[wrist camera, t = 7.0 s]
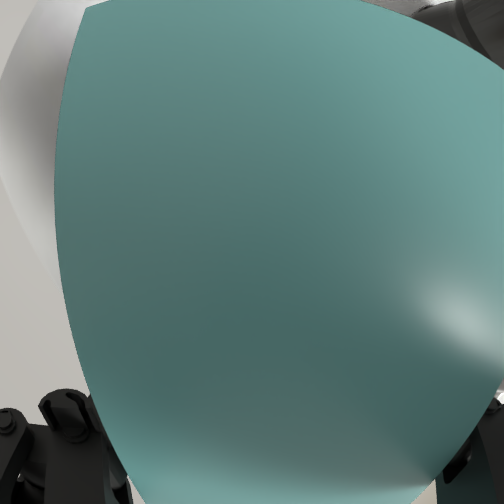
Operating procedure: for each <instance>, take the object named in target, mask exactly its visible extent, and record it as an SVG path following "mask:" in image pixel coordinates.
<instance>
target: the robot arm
mask: <svg viewBox="0 0 504 504" xmlns="http://www.w3.org/2000/svg"><path fill="white" fill-rule="evenodd" d="M410 18H412V19H415V20H417V21H419V22H422V23H424V24H426V25H428V26H430V27H433V28H435V29H437V30H439V31H441V32H443V33H445V34H447V35H449V36H451V37H452V38H454V39H456V40H458V41H460V42H461V43H463V44H465V45H467V46H468V47H470V48H472V49H473V50H475V51H477V52H478V53H480V54H481V55H483V56H484V57H486V58H487V59H489V60H490V61H492V62H493V63H495V64H496V65H498V66H499V67H500V68H502V69H503V70H504V0H454V1H449V2H444V3H440V4H438V5H436V6H433V5H431V6H425V7H422V8H420V9H418V10H417V11H416V12H414V13H413V14H412V15H411V16H410ZM38 407H39V409H40V411H41V413H42V415H43V417H44V419H45V420H46V422H47V424H48V426H46V425H37V424H29V423H28V422H27V420H26V418H25V417H24V415H23V414H22V413H21V412H20V411H18V410H16V409H13V408H4V409H0V504H133V499H132V493H131V487H130V484H129V481H128V479H127V475H128V474H127V472H126V470H125V469H124V467H123V465H122V463H121V461H120V459H119V457H118V456H117V454H116V452H115V450H114V448H113V446H112V443H111V441H110V439H109V437H108V435H107V433H106V431H105V428H104V426H103V424H102V422H101V419H100V417H99V414H98V412H97V409H96V407H95V404H94V402H93V399H92V397H91V394H90V395H89V396H88V398H87V397H86V395H85V394H83V393H81V392H80V391H78V390H74V389H58V390H55V391H53V392H50V393H48V394H47V395H46V396H45V397H43V398H42V399H41V401H40V403H39V405H38ZM19 474H20V476H19ZM18 476H19V478H18ZM17 478H18V479H17ZM435 481H436V493H437V504H504V404H501V403H500V401H499V400H497V399H496V398H495V397H493V399H492V401H491V402H490V404H489V406H488V407H487V409H486V411H485V412H484V414H483V416H482V417H481V419H480V420H479V422H478V423H477V425H476V426H475V428H474V429H473V431H472V432H471V434H470V435H469V437H468V438H467V439H466V441H465V442H464V444H463V445H462V446H461V448H460V449H459V450H458V452H457V453H456V454H455V455H454V457H453V458H452V459H451V460H450V462H449V463H448V464H447V465H446V467H445V468H444V469H443V470H442V471H441V472H440V474H439V475H438V476H437V477H436V478H435Z"/></svg>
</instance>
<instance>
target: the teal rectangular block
mask: <svg viewBox="0 0 504 504" xmlns="http://www.w3.org/2000/svg"><path fill="white" fill-rule="evenodd" d="M54 202H55V226H56V240H57V251H58V260H59V268H60V275H61V281H62V288H63V293H64V299H65V304H66V309H67V314H68V318H69V323H70V327H71V331H72V336H73V339H74V343H75V347H76V350H77V354H78V358H79V361H80V364H81V367H82V371H83V374H84V377H85V380H86V383H87V386H88V388H89V391H90V394H91V397H92V399H93V402H94V404H95V407H96V409H97V412H98V414H99V417H100V419H101V422H102V424H103V426H104V428H105V431H106V433H107V435H108V437H109V439H110V441H111V443H112V446H113V448H114V450H115V452H116V454H117V456H118V457H119V459H120V461H121V463H122V465H123V467H124V469H125V470H126V472H127V474H128V476H129V478H130V479H131V481H132V483H133V484H134V486H135V487H136V489H137V491H138V492H139V494H140V496H141V497H142V499H143V500H144V502H145V503H146V504H411V502H413V501H414V500H415V499H416V498H417V497H418V496H419V495H420V494H421V493H422V492H423V491H424V490H425V489H426V488H427V487H428V486H429V485H430V484H431V482H432V481H433V480H434V479H435V478H436V477H437V476H438V475H439V474H440V472H441V471H442V470H443V469H444V468H445V467H446V465H447V464H448V463H449V462H450V460H451V459H452V458H453V457H454V455H455V454H456V453H457V452H458V450H459V449H460V448H461V446H462V445H463V444H464V442H465V441H466V439H467V438H468V437H469V435H470V434H471V432H472V431H473V429H474V428H475V426H476V425H477V423H478V422H479V420H480V419H481V417H482V416H483V414H484V412H485V411H486V409H487V407H488V406H489V404H490V402H491V401H492V399H493V397H494V395H495V393H496V392H497V390H498V388H499V386H500V384H501V382H502V380H503V378H504V70H503V69H502V68H500V67H499V66H498V65H496V64H495V63H493V62H492V61H490V60H489V59H487V58H486V57H484V56H483V55H481V54H480V53H478V52H477V51H475V50H473V49H472V48H470V47H468V46H467V45H465V44H463V43H461V42H460V41H458V40H456V39H454V38H452V37H451V36H449V35H447V34H445V33H443V32H441V31H439V30H437V29H435V28H433V27H430V26H428V25H426V24H424V23H422V22H419V21H417V20H415V19H412V18H410V17H407V16H405V15H402V14H400V13H397V12H394V11H392V10H389V9H386V8H383V7H380V6H377V5H374V4H371V3H367V2H364V1H360V0H109V1H106V2H103V3H99V4H96V5H93V6H90V7H87V8H86V9H85V12H84V15H83V18H82V21H81V24H80V27H79V30H78V33H77V36H76V39H75V43H74V46H73V50H72V54H71V58H70V62H69V66H68V70H67V74H66V79H65V84H64V89H63V95H62V101H61V107H60V114H59V122H58V130H57V141H56V154H55V178H54Z"/></svg>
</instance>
